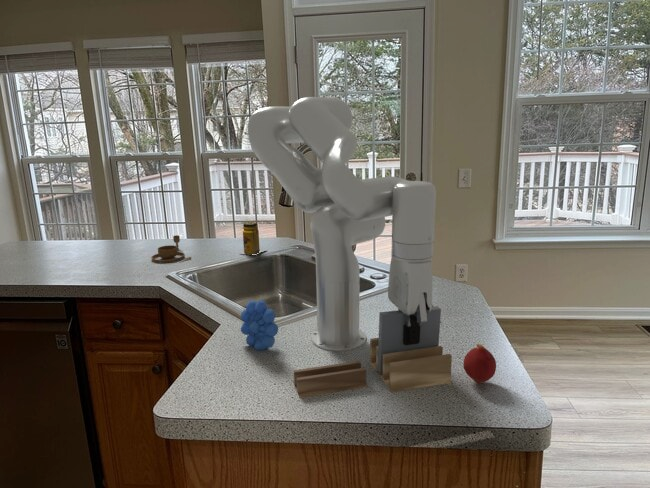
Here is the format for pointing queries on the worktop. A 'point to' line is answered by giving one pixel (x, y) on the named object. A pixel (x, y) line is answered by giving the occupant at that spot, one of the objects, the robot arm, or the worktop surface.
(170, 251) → the place setting
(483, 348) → the onion
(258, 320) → the grapes
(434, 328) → the plate
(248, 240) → the condiment
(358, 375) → the plate stand
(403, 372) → the rack
